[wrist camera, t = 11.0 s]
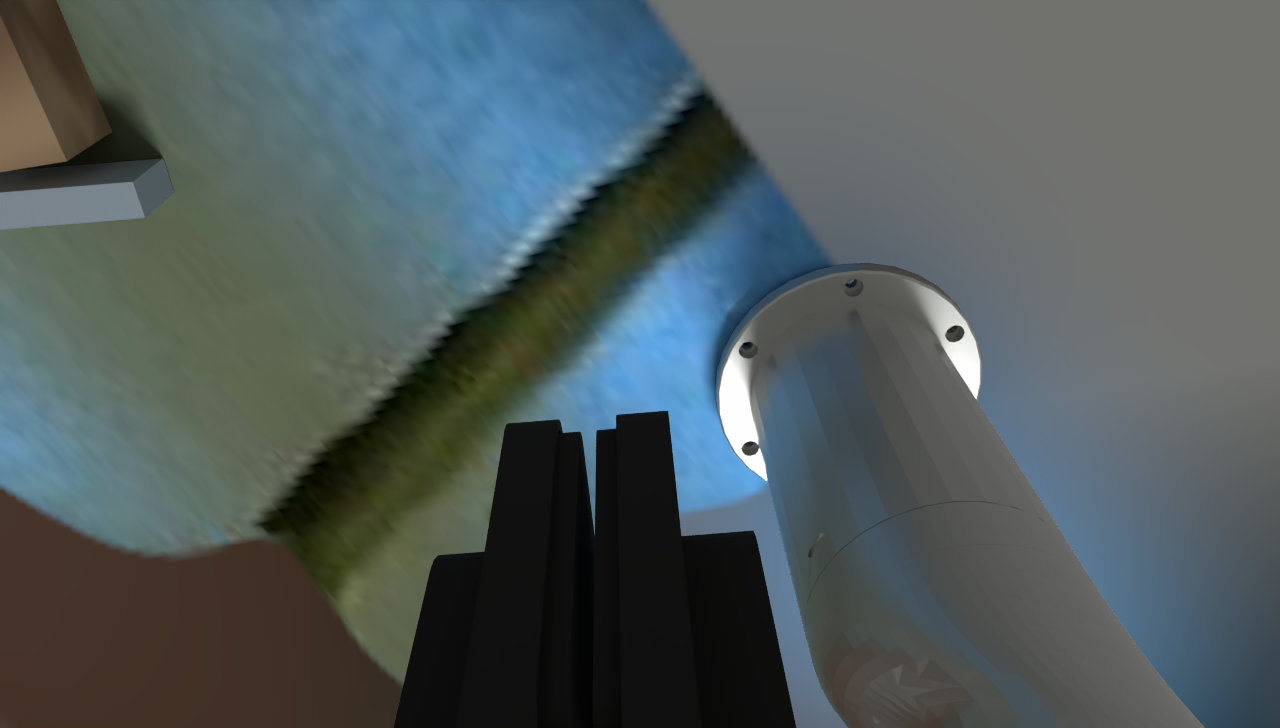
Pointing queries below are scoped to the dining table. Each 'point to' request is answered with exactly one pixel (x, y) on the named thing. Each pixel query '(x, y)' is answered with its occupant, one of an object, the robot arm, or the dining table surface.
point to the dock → (82, 193)
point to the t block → (43, 89)
